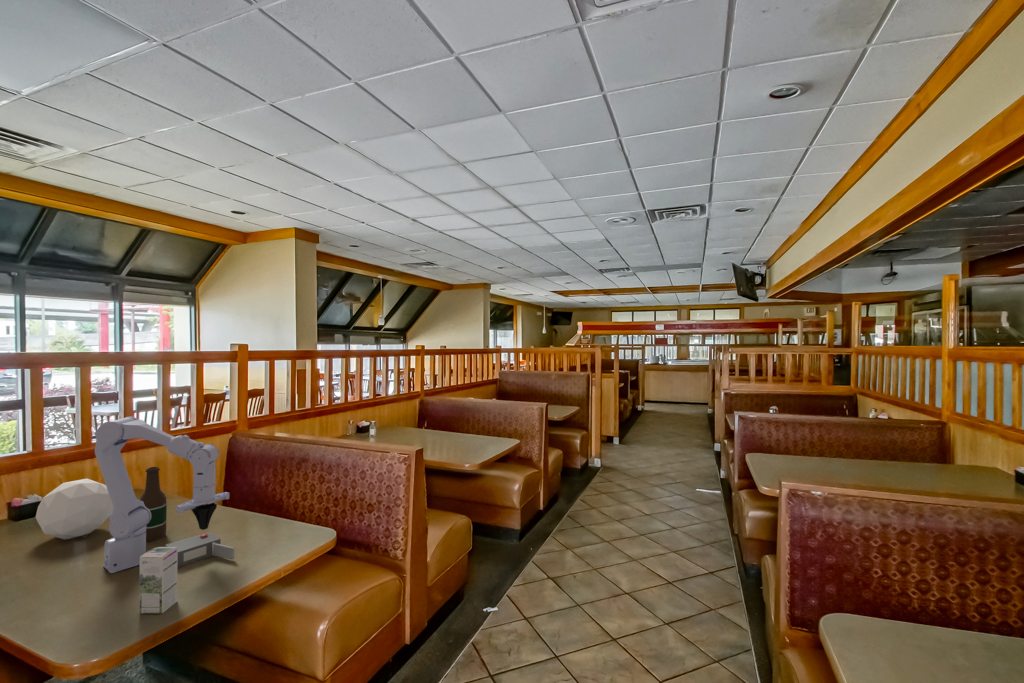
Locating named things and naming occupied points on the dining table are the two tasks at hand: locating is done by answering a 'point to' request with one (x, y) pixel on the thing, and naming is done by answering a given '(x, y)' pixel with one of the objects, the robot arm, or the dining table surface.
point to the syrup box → (158, 580)
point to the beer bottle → (154, 505)
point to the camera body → (194, 548)
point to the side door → (223, 551)
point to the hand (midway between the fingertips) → (203, 528)
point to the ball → (74, 509)
